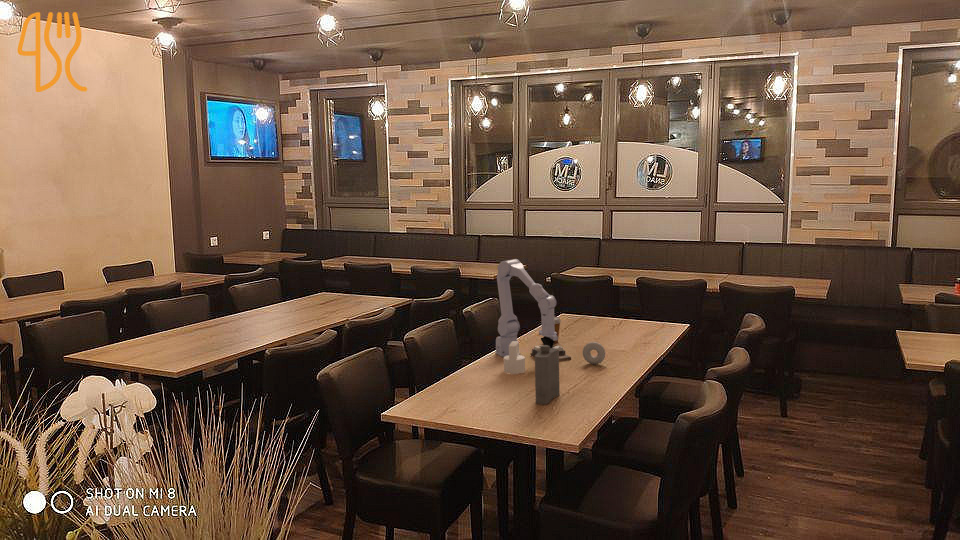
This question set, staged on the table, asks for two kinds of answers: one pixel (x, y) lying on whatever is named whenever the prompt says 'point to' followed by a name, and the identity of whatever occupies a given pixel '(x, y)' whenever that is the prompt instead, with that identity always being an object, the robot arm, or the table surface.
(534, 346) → the tile one
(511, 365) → the cylinder with rectangular tab
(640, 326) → the table surface
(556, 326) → the disposable coffee cup
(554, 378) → the flask
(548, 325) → the robot arm
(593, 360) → the donut
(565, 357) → the dark brown cabinet frame
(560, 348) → the tile two
